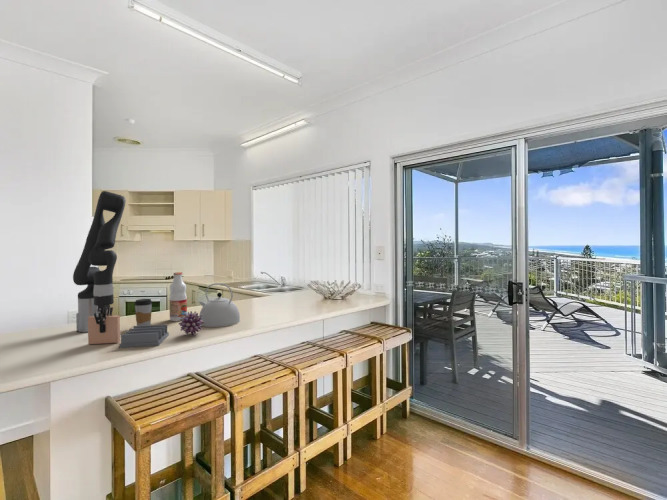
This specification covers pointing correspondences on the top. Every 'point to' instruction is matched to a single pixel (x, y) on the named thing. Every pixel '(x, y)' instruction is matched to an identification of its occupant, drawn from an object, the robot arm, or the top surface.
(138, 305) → the coffee cup
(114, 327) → the tall peach block
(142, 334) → the rack
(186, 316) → the flower
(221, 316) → the kettle
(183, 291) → the fruit juice
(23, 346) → the top surface
